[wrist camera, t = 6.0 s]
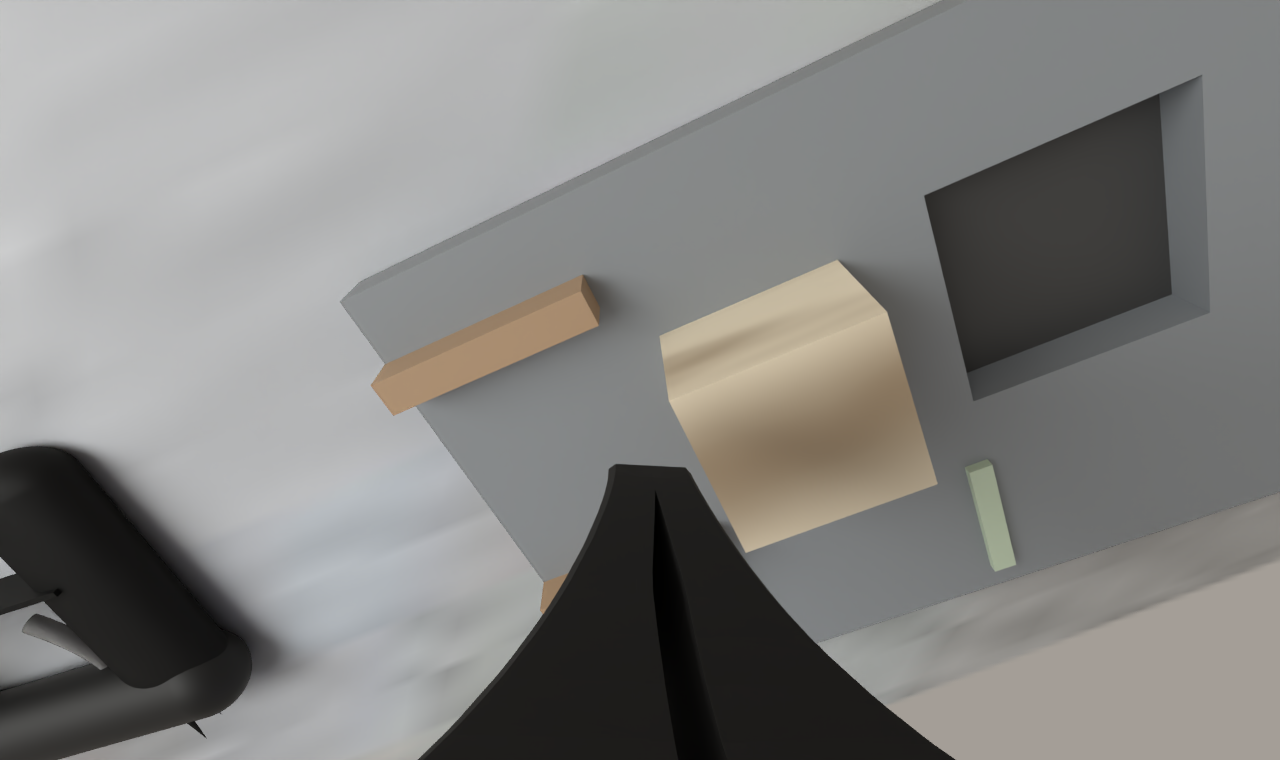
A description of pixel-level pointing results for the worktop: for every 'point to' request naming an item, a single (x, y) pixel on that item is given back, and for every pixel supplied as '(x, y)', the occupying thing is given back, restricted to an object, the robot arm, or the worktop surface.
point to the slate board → (902, 293)
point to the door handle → (101, 619)
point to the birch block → (797, 406)
